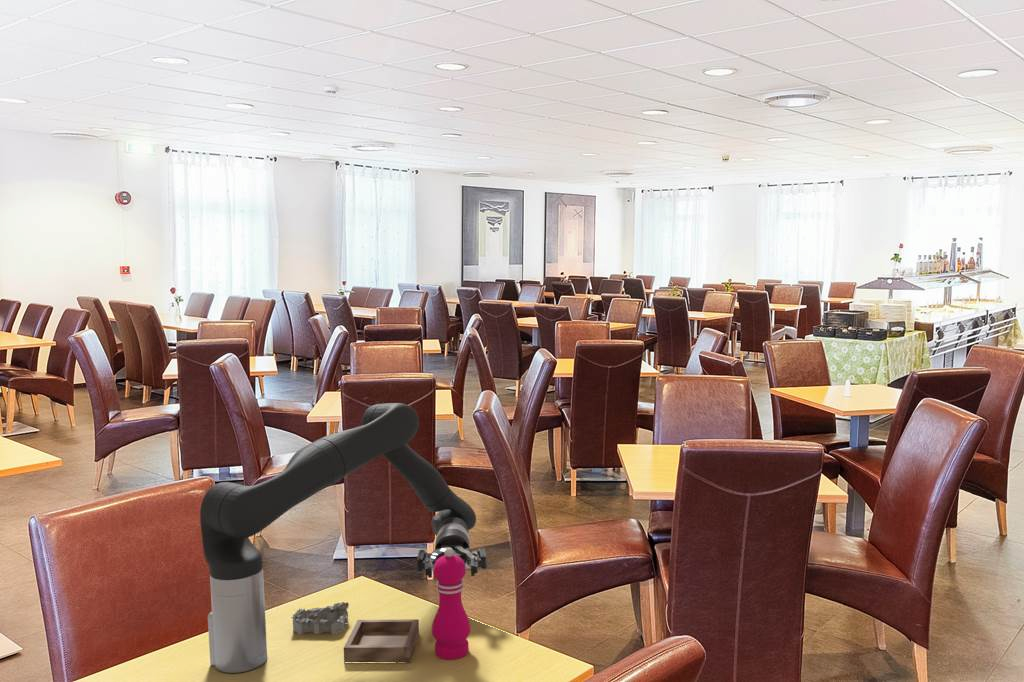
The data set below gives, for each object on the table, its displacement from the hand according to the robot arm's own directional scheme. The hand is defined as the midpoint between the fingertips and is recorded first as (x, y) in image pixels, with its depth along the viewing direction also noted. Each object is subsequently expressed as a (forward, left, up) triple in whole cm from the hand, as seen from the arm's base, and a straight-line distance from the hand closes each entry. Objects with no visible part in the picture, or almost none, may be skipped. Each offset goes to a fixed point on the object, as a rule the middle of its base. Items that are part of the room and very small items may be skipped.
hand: (451, 572), depth 168 cm
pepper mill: (+5, -10, -11) cm, 16 cm away
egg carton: (-25, -9, -12) cm, 29 cm away
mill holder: (-8, -13, -11) cm, 19 cm away
